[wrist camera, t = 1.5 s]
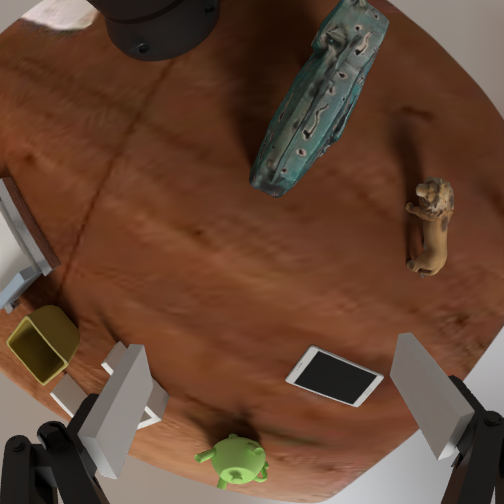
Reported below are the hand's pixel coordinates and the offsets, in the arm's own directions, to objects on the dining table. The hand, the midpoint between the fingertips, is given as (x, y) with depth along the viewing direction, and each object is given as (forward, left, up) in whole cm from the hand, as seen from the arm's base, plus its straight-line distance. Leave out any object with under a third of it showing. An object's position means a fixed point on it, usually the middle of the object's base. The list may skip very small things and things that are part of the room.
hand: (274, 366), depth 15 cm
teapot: (+28, -23, -26) cm, 45 cm away
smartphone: (+24, -1, -26) cm, 36 cm away
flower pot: (-6, -33, -26) cm, 43 cm away
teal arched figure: (-11, +13, -26) cm, 31 cm away
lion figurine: (+9, +19, -26) cm, 33 cm away
